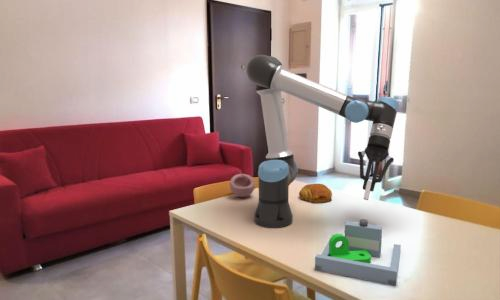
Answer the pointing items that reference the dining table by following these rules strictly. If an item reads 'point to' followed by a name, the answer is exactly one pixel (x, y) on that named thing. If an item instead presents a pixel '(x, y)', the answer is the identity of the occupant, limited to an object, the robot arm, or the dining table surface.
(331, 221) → the dining table surface
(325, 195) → the croissant
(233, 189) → the pink round pot
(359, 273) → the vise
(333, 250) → the mechanical part
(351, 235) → the slide jaw
